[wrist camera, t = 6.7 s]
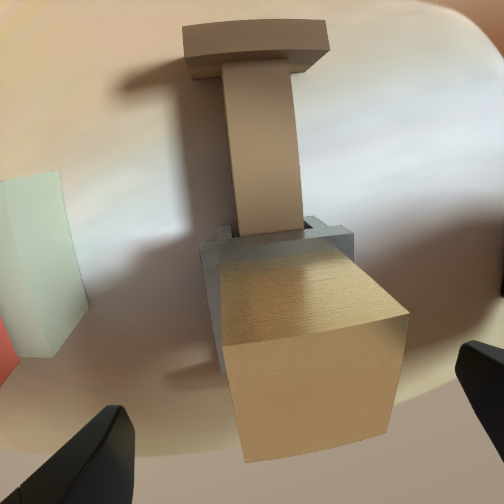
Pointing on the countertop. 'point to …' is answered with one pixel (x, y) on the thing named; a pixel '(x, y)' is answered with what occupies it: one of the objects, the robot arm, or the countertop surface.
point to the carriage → (302, 339)
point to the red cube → (6, 354)
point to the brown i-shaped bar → (259, 110)
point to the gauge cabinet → (38, 266)
